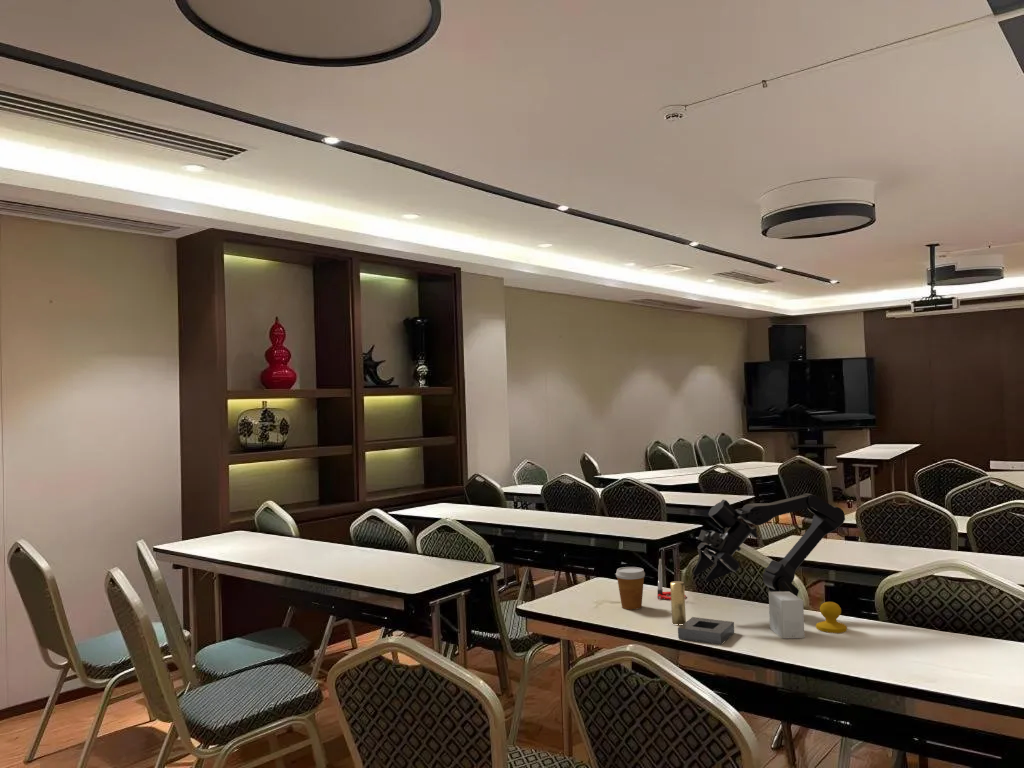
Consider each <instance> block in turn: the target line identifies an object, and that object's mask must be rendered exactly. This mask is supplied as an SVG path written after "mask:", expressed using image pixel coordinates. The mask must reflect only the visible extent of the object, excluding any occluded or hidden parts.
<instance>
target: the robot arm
mask: <svg viewBox="0 0 1024 768" xmlns="http://www.w3.org/2000/svg"><path fill="white" fill-rule="evenodd" d="M806 509H807V510H808V511H809V512H810V513H812V514H813V516H812V519H811V524H810V526H809V527H808V528H807V530H806V531H805V532H804V533H803V535H802V536H801V537H800V538H799V539H798V541H797V542H795V544H794V545H793V546H792V548H791V549H790V550H789V551H788V552H787V553H786V554H785V556H784V557H783V558H782V559H781V560H779V561H776V560H774V559H773V560H771V561H770V562H769V564H768V566H767V567H765V568H764V569H763V571H764V572H763V573H762V582H763V584H764V585H765V586H766V587H767V589H768V590H769V591H768V592H791V593H792V594H794V595H796V596H797V597H799V595H798V594H799V591H800V590H799V589H798V587H797V586H795V584H794V583H793V582H794V580H795V576H796V571H797V569H798V568H799V567H800V565H801V564H802V563H803V562H804V561H805V560H806V559H807V557H808V556H809V555H810V554H811V553H812V551H813V550H815V548H816V547H817V545H818V544H819V543H820V542H821V541H822V540H823V538H825V536H827V535H828V534H830V533H832V532H834V531H836V530H837V529H838V528H839V527H840V526H842V525H843V524H844V522H845V521H846V517H845V516H846V514H845V512H844V510H843V509H842V508H841V507H837V506H834V505H831V504H829V503H828V502H826V501H825V500H823V499H820V498H819V497H818V496H817V495H814V494H812V493H803V494H801V495H797V496H792V497H789V498H785V499H780V500H777V501H776V500H775V501H773V502H769V503H768V502H766V503H765V502H762V503H758V502H757V503H746V504H745V505H743V507H742V508H734V507H733V506H732V505H731V504H730V502H728V500H727V499H722V500H720V501H719V502H717V503H716V504H715V505H713V506H712V507H711V508H710V509H709V512H708V516H709V517H710V518H711V519H712V520H714V522H715V523H716V524H717V525H718V526H719V527H721V529H727V530H726V531H725V532H724V533H719V532H717V531H715V530H713V531H711V532H708V531H705V530H703V529H701V530H700V533H699V535H698V538H697V540H698V541H701V542H700V543H699V544H698V545H697V548H696V549H697V552H698V559H697V563H696V565H695V567H694V569H693V572H692V574H693V575H694V576H698V575H699V574H701V573H703V572H704V571H705V570H707V569H709V568H710V567H711V568H710V571H709V572H708V573H707V575H706V576H705V579H704V581H705V582H706V583H709V582H712V581H713V580H716V579H718V578H722V577H723V576H724V577H725V576H726V575H728V574H733V573H737V571H738V570H739V569H740V562H739V561H738V560H737V559H736V558H735V557H734V556H733V555H734V554H735V552H736V551H738V552H740V551H741V550H742V548H741V547H740V546H742V544H743V543H744V542H745V541H746V540H747V538H748V537H749V536H751V537H752V538H756V539H757V538H758V533H757V530H758V529H757V528H756V527H751V526H750V525H749V524H752V525H754V526H762V525H764V524H766V523H768V522H770V521H771V520H772V519H774V518H775V517H778V516H782V515H786V514H790V513H793V512H798V511H802V510H806ZM740 519H741V520H742V521H741V520H740Z"/></svg>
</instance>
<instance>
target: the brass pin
mask: <svg viewBox="0 0 1024 768" xmlns="http://www.w3.org/2000/svg"><path fill="white" fill-rule="evenodd" d="M669 584H670V592H671V595H670V597H671V600H670V605H671V624H672V623H673V624H678V625H679V624H684V623H685V622H687V619H686V618H687V617H686V615H687V614H686V613H687V612H686V598H685V595H686V594H685V593H686V592H685V591H686V590H685V582H684V581H680V580H679V581H678V580H675V581H671V582H670V583H669ZM673 624H672V625H673ZM678 625H677V626H678Z"/></svg>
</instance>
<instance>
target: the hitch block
mask: <svg viewBox="0 0 1024 768" xmlns="http://www.w3.org/2000/svg"><path fill="white" fill-rule="evenodd" d="M733 633H734V634H735V621H728V620H720V619H714V618H713V619H711V618H704V617H698V616H697V617H696V616H692V617H690V618H689V619H688V620H686V622H685V623H684V624H683V625H681V626H678V627H677V636H678V637H677V638H679V640H683V639H685V640H684V641H690V640H692V642H698V643H707V644H712V643H713V644H714V645H719V644H720V646H721V645H723V644H724V643H725V642H726V641H727V640H728V639H729V638H731V637H732V636H733ZM699 641H700V642H699ZM724 641H725V642H724ZM723 642H724V643H723ZM722 643H723V644H722Z"/></svg>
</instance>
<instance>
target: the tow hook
mask: <svg viewBox="0 0 1024 768" xmlns="http://www.w3.org/2000/svg"><path fill="white" fill-rule="evenodd" d="M657 567H658V569H657V570H658V573H657V577H658V579H657V599H658V600H659V599H660V600H667V599H669V600H668V601H671V591H663V565H662V558H658V566H657ZM685 597H687V595H686V594H685Z"/></svg>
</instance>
